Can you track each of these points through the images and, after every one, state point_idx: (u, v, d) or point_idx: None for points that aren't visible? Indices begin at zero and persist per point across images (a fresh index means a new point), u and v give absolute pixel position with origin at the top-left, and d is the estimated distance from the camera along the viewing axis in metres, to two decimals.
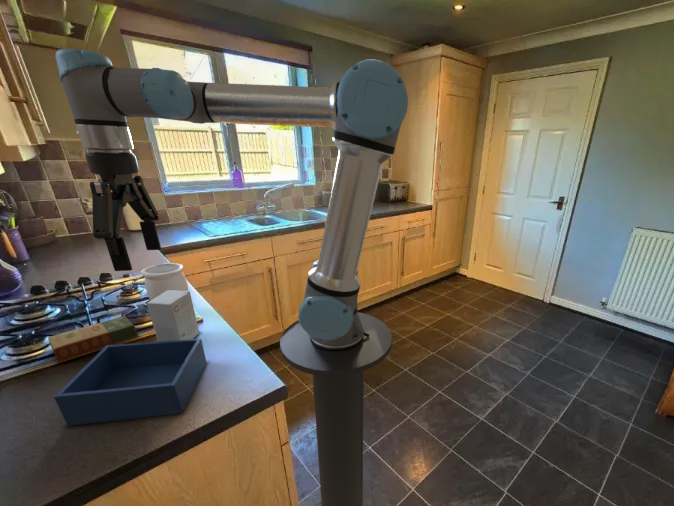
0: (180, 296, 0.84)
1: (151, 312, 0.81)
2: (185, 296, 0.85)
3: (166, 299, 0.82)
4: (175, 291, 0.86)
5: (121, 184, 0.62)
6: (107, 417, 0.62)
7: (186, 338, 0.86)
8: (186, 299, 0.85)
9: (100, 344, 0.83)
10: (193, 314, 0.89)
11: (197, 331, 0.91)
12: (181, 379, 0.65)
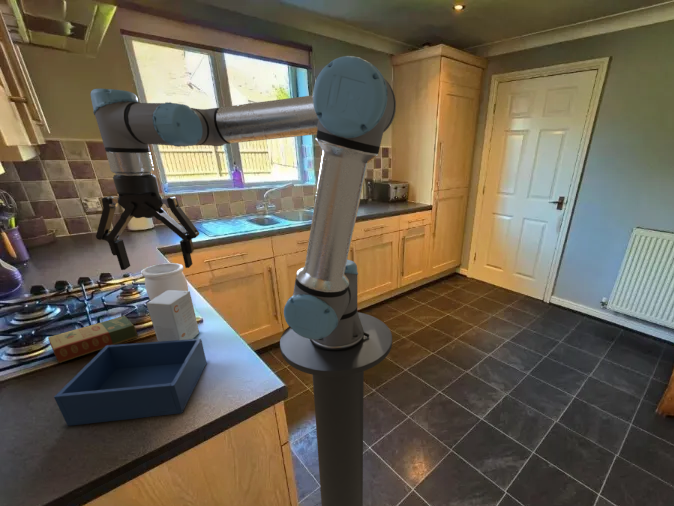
0: (180, 296, 0.84)
1: (151, 312, 0.81)
2: (184, 296, 0.85)
3: (166, 299, 0.82)
4: (175, 291, 0.86)
5: (130, 202, 0.71)
6: (107, 417, 0.62)
7: (186, 338, 0.86)
8: (186, 299, 0.85)
9: (100, 344, 0.83)
10: (193, 314, 0.89)
11: (197, 331, 0.91)
12: (181, 379, 0.65)
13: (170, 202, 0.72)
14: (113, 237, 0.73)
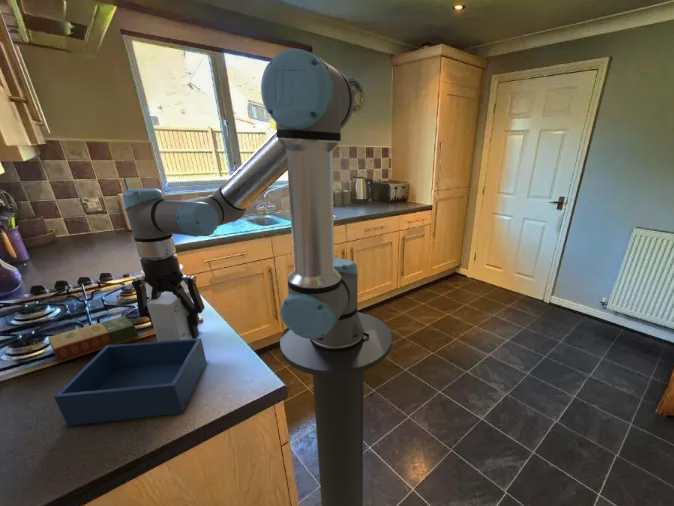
0: None
1: (151, 312, 0.81)
2: None
3: (166, 299, 0.82)
4: None
5: (154, 280, 0.80)
6: (107, 417, 0.62)
7: (186, 338, 0.86)
8: None
9: (100, 344, 0.83)
10: None
11: None
12: (181, 379, 0.65)
13: (190, 282, 0.82)
14: None
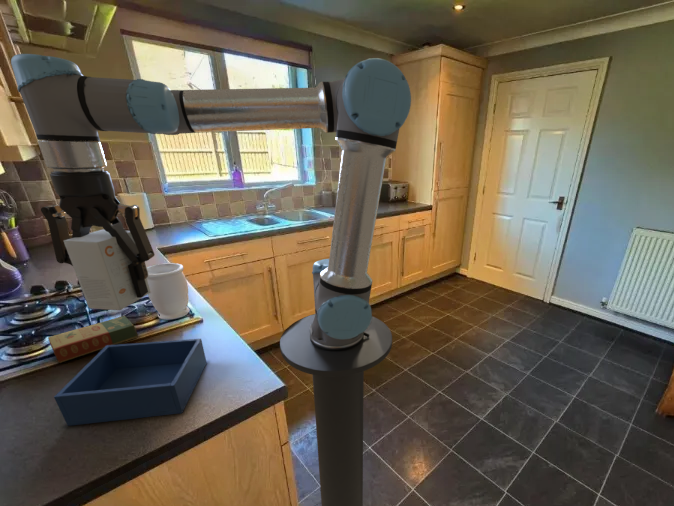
0: None
1: (72, 255, 0.56)
2: None
3: (94, 237, 0.57)
4: None
5: (74, 207, 0.55)
6: (107, 417, 0.62)
7: (128, 296, 0.61)
8: None
9: (100, 344, 0.83)
10: None
11: None
12: (181, 379, 0.65)
13: (128, 212, 0.57)
14: None
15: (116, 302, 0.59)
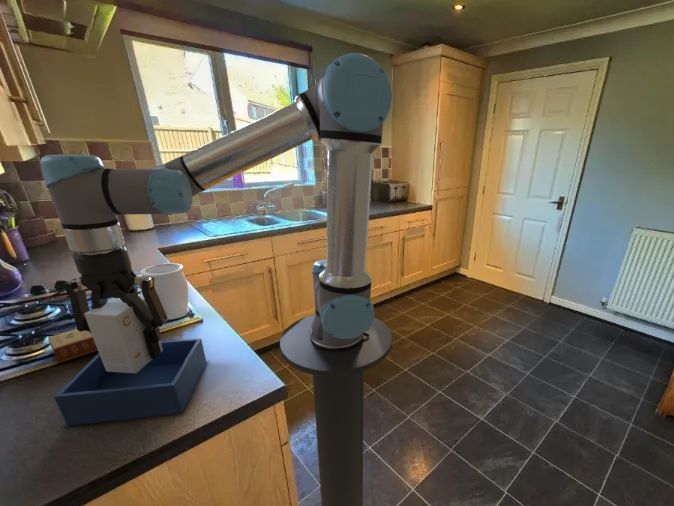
0: None
1: (91, 326, 0.60)
2: None
3: (112, 308, 0.61)
4: None
5: (94, 282, 0.59)
6: (107, 417, 0.62)
7: (142, 359, 0.65)
8: None
9: None
10: None
11: None
12: (181, 379, 0.65)
13: (144, 285, 0.61)
14: None
15: (132, 366, 0.63)
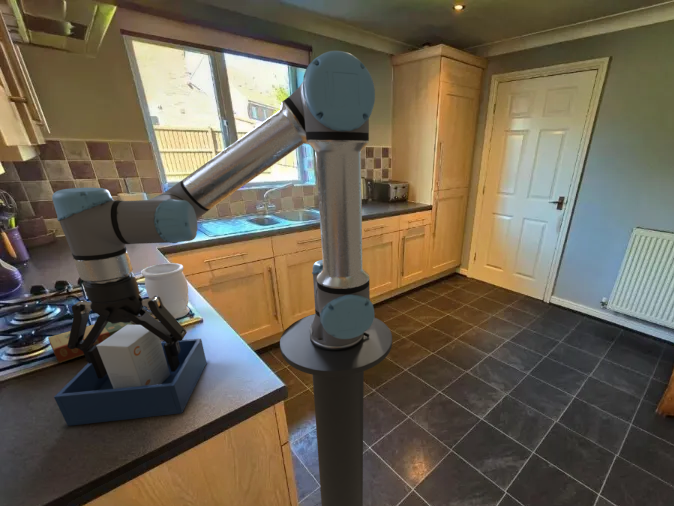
0: (143, 333, 0.65)
1: (103, 356, 0.62)
2: (149, 332, 0.66)
3: (123, 339, 0.63)
4: (137, 326, 0.68)
5: (105, 307, 0.61)
6: (107, 417, 0.62)
7: None
8: (151, 336, 0.67)
9: None
10: (161, 353, 0.70)
11: (167, 373, 0.73)
12: (181, 379, 0.65)
13: (152, 305, 0.62)
14: (87, 345, 0.63)
15: None
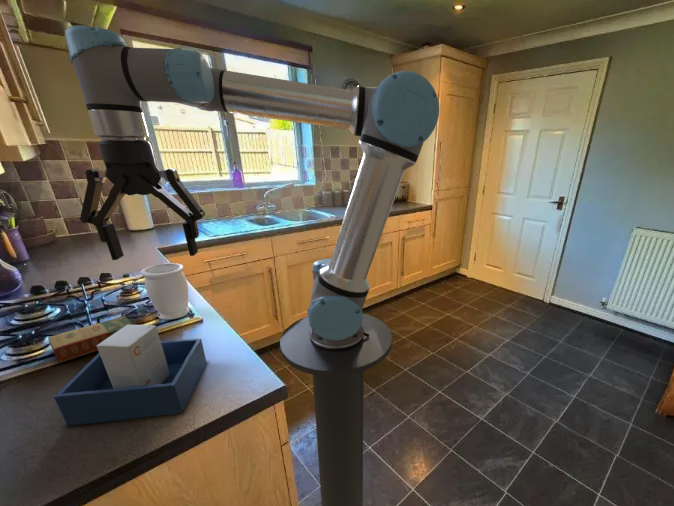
0: (143, 333, 0.65)
1: (103, 356, 0.62)
2: (149, 332, 0.67)
3: (123, 339, 0.63)
4: (137, 326, 0.68)
5: (121, 175, 0.58)
6: (107, 417, 0.62)
7: None
8: (151, 336, 0.67)
9: None
10: (161, 353, 0.70)
11: (167, 373, 0.73)
12: (181, 379, 0.65)
13: (169, 175, 0.59)
14: (101, 219, 0.60)
15: None
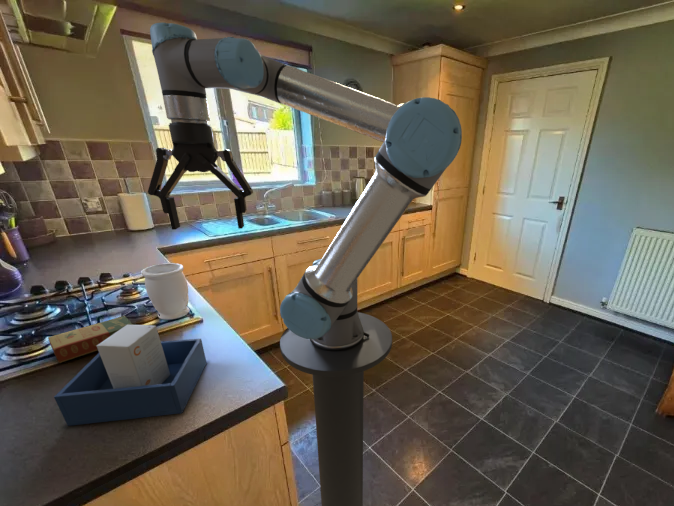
0: (143, 333, 0.65)
1: (103, 356, 0.62)
2: (149, 332, 0.67)
3: (123, 339, 0.63)
4: (137, 326, 0.68)
5: (185, 153, 0.66)
6: (107, 417, 0.62)
7: None
8: (151, 336, 0.67)
9: None
10: (161, 353, 0.70)
11: (167, 373, 0.73)
12: (181, 379, 0.65)
13: (226, 155, 0.68)
14: (165, 193, 0.68)
15: None
